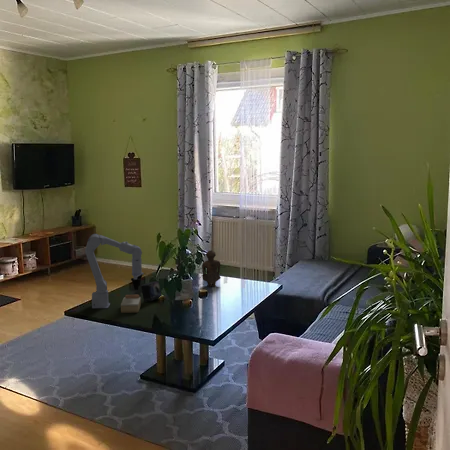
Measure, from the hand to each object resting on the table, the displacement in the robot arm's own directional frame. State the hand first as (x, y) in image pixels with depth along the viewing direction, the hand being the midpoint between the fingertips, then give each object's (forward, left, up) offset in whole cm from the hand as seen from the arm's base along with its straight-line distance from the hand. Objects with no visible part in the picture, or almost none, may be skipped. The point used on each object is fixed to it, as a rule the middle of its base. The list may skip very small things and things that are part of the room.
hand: (137, 287), depth 295 cm
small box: (+9, +5, -10) cm, 14 cm away
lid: (-3, -9, -6) cm, 11 cm away
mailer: (-3, -9, -10) cm, 14 cm away
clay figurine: (+46, +35, -10) cm, 59 cm away
